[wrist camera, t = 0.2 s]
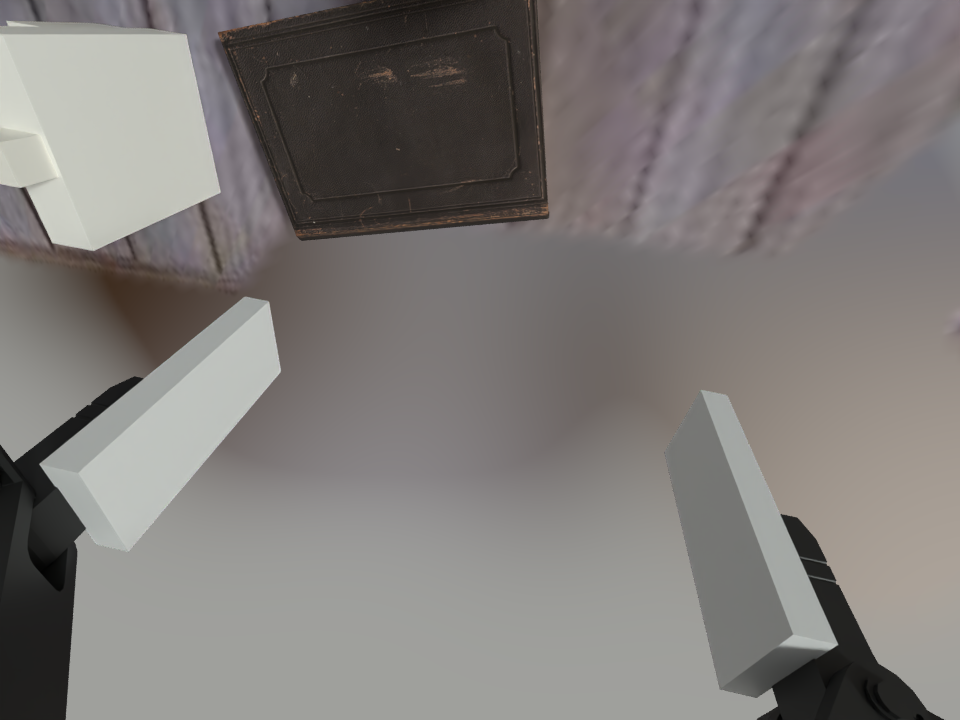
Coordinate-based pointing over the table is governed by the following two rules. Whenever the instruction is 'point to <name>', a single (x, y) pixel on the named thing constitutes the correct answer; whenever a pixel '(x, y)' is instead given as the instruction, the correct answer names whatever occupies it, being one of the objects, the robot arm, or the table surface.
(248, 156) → the table surface
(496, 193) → the hardcover book
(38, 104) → the white block with nub
